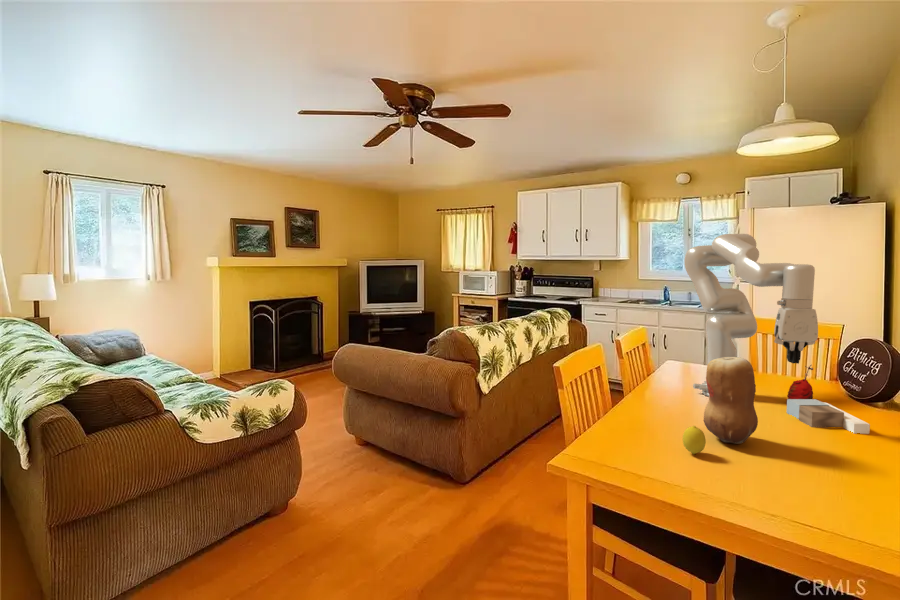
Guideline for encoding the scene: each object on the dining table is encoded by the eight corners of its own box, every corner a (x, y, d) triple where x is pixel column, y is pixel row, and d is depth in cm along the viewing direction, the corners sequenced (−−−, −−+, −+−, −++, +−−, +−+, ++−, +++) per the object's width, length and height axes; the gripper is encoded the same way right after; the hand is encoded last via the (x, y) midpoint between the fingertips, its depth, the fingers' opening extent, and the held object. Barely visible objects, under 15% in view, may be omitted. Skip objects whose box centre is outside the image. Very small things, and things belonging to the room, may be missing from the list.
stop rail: (853, 433, 131) (854, 423, 131) (812, 410, 151) (812, 402, 151) (869, 434, 130) (869, 424, 130) (825, 411, 150) (826, 402, 150)
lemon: (702, 451, 122) (703, 423, 121) (707, 459, 117) (708, 430, 116) (680, 448, 124) (681, 421, 123) (684, 457, 119) (684, 428, 118)
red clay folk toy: (795, 399, 162) (797, 359, 161) (817, 405, 156) (819, 363, 155) (783, 403, 159) (785, 362, 158) (805, 408, 153) (807, 366, 152)
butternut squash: (699, 430, 137) (701, 351, 134) (749, 435, 132) (752, 353, 130) (708, 448, 124) (711, 361, 121) (765, 454, 119) (768, 364, 117)
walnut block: (811, 427, 137) (812, 412, 136) (798, 420, 143) (799, 405, 142) (843, 428, 136) (844, 412, 135) (828, 421, 142) (829, 406, 141)
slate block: (798, 419, 143) (799, 405, 143) (786, 413, 149) (787, 399, 149) (828, 420, 143) (829, 405, 142) (814, 413, 149) (815, 399, 148)
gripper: (776, 305, 133) (772, 364, 135) (832, 305, 130) (828, 366, 132) (763, 303, 140) (760, 359, 142) (816, 302, 138) (812, 360, 140)
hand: (793, 362), depth 137 cm, fingers closed
